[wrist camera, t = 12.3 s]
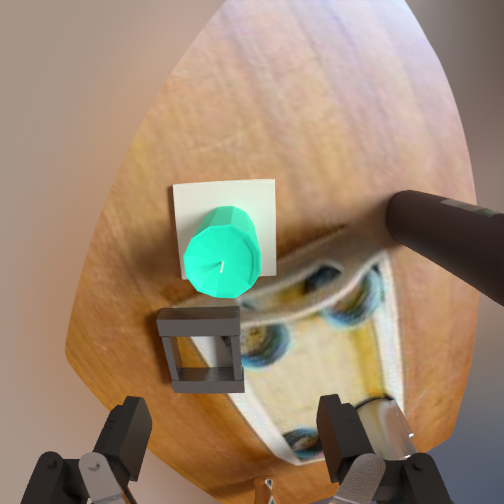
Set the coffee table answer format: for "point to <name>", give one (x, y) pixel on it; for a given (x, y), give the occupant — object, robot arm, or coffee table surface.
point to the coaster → (228, 194)
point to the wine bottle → (452, 237)
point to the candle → (224, 254)
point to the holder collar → (202, 324)
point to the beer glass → (266, 490)
